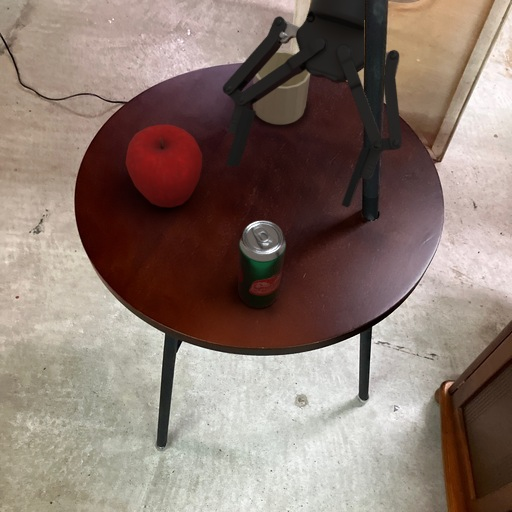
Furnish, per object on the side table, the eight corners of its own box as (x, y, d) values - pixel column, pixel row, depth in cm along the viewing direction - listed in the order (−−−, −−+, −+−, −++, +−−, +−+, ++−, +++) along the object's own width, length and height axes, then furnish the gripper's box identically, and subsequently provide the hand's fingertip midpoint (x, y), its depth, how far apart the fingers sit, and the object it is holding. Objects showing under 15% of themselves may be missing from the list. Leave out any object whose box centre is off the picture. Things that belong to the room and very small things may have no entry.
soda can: (251, 317, 66) (254, 264, 56) (230, 285, 68) (230, 229, 58) (286, 298, 68) (296, 244, 57) (265, 268, 70) (271, 210, 60)
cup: (305, 90, 88) (310, 52, 82) (304, 126, 84) (310, 89, 78) (254, 86, 88) (255, 49, 82) (251, 122, 84) (252, 86, 78)
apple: (214, 211, 74) (212, 155, 65) (145, 231, 72) (132, 176, 63) (191, 159, 79) (186, 101, 70) (126, 176, 77) (112, 118, 68)
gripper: (470, 29, 58) (396, 219, 63) (252, -31, 62) (199, 150, 67) (479, 10, 51) (395, 226, 56) (232, -57, 55) (175, 149, 60)
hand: (287, 185), depth 61 cm, fingers open, 13 cm apart
